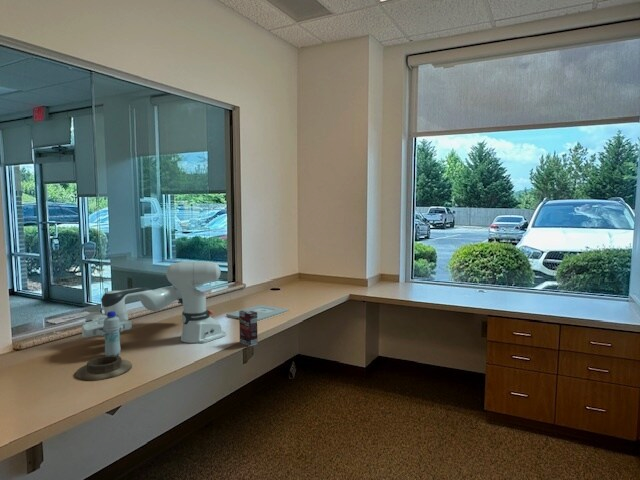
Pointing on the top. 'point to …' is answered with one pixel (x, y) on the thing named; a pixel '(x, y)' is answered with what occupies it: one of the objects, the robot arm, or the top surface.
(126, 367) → the coaster
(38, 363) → the top surface
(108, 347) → the bottle
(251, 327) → the supplement box
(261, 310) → the award plaque
